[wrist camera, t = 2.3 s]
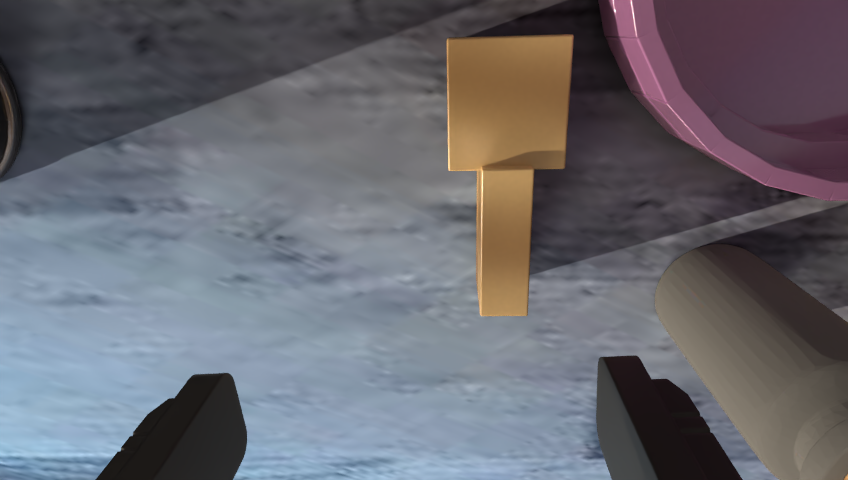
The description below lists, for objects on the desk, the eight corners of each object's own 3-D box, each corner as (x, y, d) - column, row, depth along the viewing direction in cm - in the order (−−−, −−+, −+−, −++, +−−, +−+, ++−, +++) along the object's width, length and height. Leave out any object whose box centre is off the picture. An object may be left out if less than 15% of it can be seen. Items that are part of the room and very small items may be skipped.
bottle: (741, 221, 27) (1050, 424, 13) (784, 308, 29) (1100, 571, 15) (634, 278, 29) (811, 516, 15) (681, 358, 30) (881, 641, 16)
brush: (544, 279, 29) (558, 316, 25) (450, 279, 29) (450, 316, 25) (557, 33, 24) (577, 34, 21) (446, 37, 25) (446, 38, 21)
